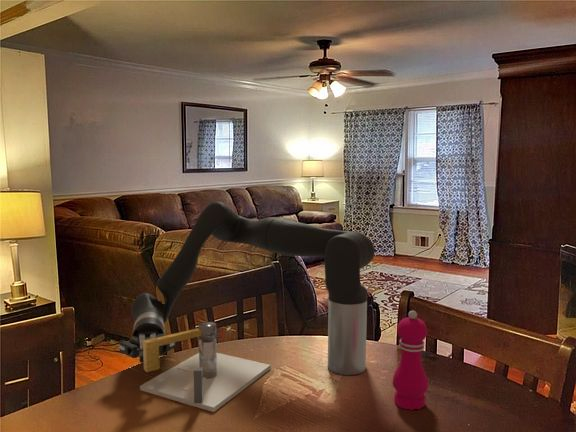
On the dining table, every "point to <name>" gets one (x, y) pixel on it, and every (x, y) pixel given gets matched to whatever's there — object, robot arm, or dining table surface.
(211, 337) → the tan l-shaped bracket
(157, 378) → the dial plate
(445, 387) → the dining table surface
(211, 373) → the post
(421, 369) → the pepper mill
